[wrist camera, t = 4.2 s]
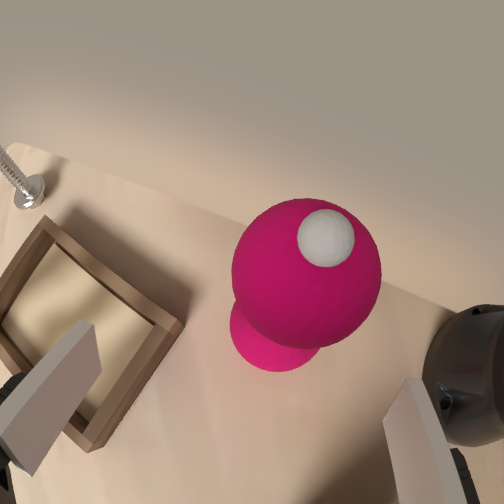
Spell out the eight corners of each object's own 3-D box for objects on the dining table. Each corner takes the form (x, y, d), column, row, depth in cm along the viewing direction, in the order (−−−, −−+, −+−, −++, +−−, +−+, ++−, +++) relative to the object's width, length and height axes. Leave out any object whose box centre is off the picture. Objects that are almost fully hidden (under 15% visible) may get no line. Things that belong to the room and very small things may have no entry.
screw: (16, 213, 31) (33, 181, 33) (40, 219, 31) (57, 185, 33) (-42, 153, 19) (-17, 117, 21) (-21, 154, 19) (6, 115, 21)
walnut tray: (185, 326, 27) (177, 319, 24) (103, 446, 22) (86, 453, 19) (59, 229, 31) (45, 214, 27) (-6, 328, 26) (-25, 321, 22)
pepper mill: (260, 278, 29) (283, 104, 11) (328, 318, 28) (458, 201, 9) (216, 344, 27) (150, 260, 8) (287, 388, 25) (386, 403, 7)
